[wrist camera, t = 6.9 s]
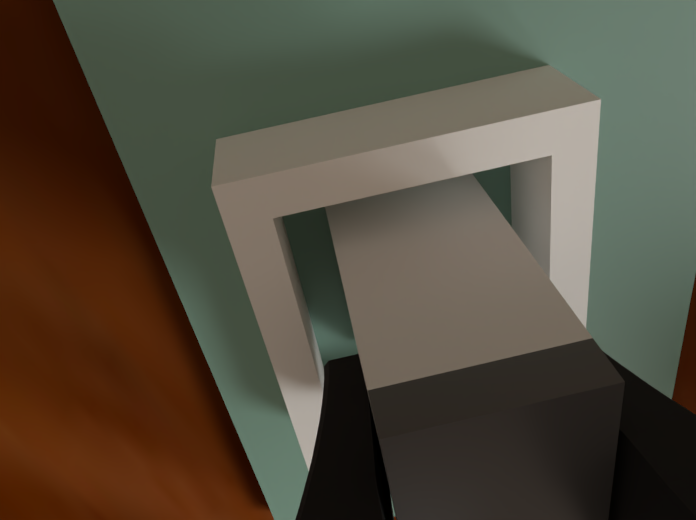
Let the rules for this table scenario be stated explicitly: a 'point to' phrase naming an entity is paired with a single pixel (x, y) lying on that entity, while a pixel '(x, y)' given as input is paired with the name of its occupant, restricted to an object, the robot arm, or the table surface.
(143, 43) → the socket board
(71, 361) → the table surface
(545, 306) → the plug
